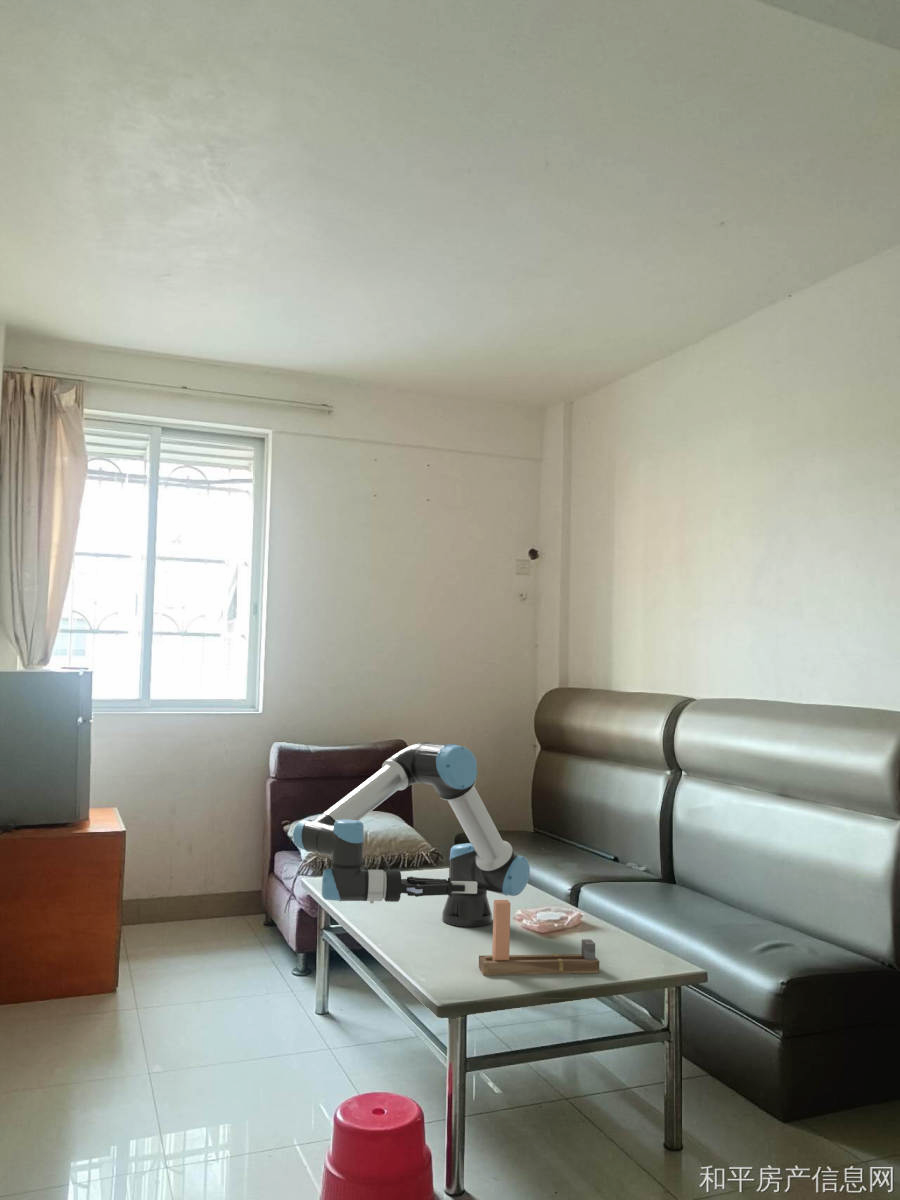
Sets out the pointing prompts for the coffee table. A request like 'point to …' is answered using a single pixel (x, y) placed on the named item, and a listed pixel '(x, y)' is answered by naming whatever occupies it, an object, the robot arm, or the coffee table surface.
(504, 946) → the block
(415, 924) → the coffee table surface
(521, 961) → the beam
